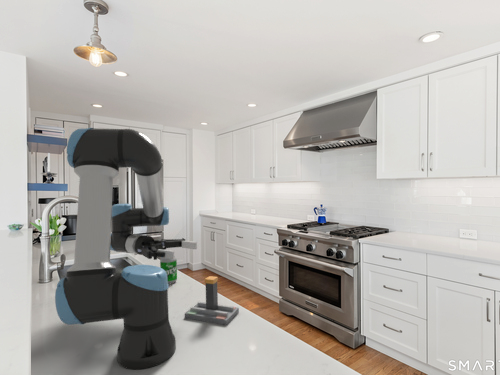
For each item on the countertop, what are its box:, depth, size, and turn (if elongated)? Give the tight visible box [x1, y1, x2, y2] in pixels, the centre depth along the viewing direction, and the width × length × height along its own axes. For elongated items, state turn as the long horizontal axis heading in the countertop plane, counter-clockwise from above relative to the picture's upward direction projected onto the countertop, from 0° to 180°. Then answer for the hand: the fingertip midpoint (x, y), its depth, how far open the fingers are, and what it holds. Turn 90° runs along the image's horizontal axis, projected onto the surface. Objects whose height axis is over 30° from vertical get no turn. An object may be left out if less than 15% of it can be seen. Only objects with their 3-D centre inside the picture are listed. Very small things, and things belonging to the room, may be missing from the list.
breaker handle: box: [204, 275, 219, 310], centre depth 102 cm, size 3×3×11 cm
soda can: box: [159, 255, 178, 285], centre depth 137 cm, size 8×8×12 cm
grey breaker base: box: [184, 301, 240, 326], centre depth 102 cm, size 10×16×3 cm, turn 69°
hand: (185, 250), depth 105 cm, fingers open, 13 cm apart
